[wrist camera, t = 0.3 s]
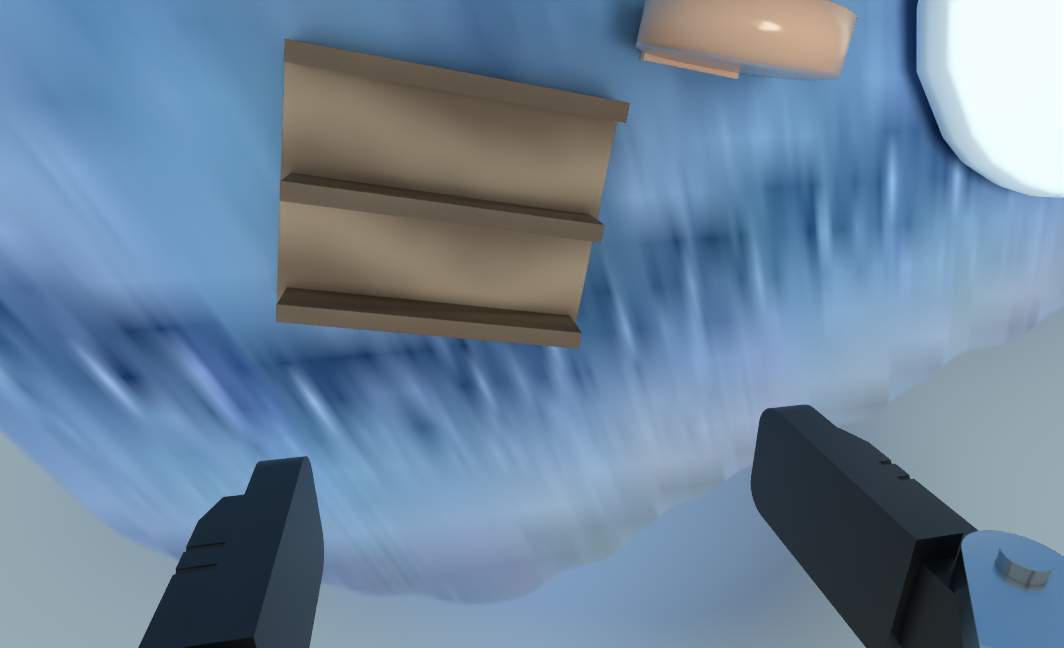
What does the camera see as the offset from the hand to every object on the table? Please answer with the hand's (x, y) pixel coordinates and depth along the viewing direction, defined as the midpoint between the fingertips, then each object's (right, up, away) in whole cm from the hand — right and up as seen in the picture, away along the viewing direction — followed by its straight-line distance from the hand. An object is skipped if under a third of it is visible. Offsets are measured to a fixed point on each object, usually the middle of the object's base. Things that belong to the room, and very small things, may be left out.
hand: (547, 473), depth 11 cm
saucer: (+9, +19, +25) cm, 33 cm away
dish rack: (-5, +10, +26) cm, 28 cm away
